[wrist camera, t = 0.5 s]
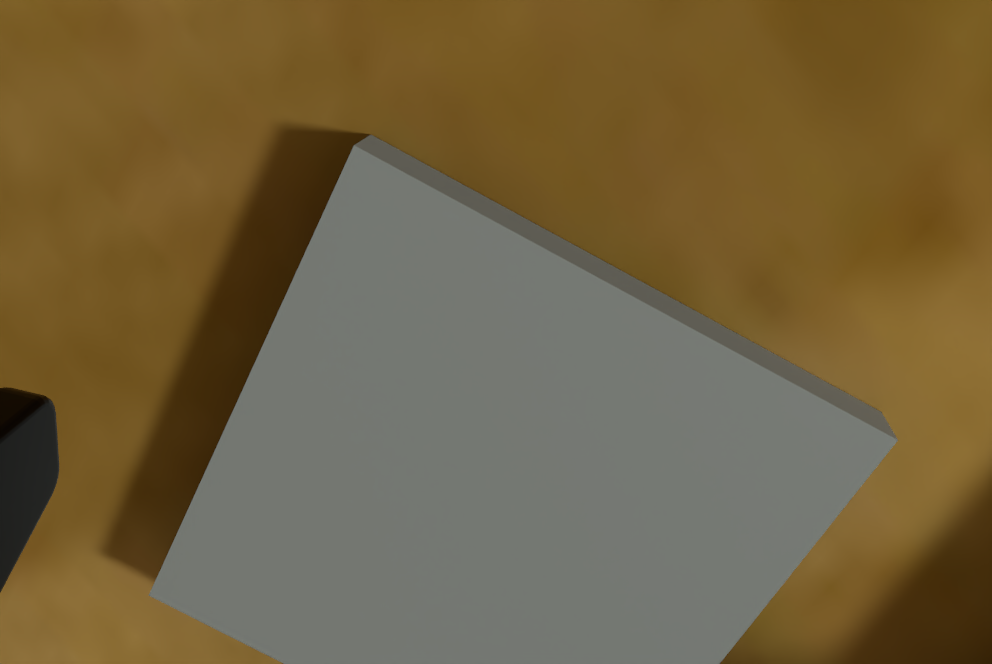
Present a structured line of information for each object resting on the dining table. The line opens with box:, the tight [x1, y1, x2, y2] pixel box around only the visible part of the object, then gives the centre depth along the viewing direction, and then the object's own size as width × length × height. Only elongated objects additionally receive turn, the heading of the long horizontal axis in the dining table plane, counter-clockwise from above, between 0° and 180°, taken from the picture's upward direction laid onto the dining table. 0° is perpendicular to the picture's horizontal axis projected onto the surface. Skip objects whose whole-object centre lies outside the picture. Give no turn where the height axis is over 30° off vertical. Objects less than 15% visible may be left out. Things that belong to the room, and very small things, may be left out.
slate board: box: [149, 135, 898, 664], centre depth 25 cm, size 14×14×2 cm
